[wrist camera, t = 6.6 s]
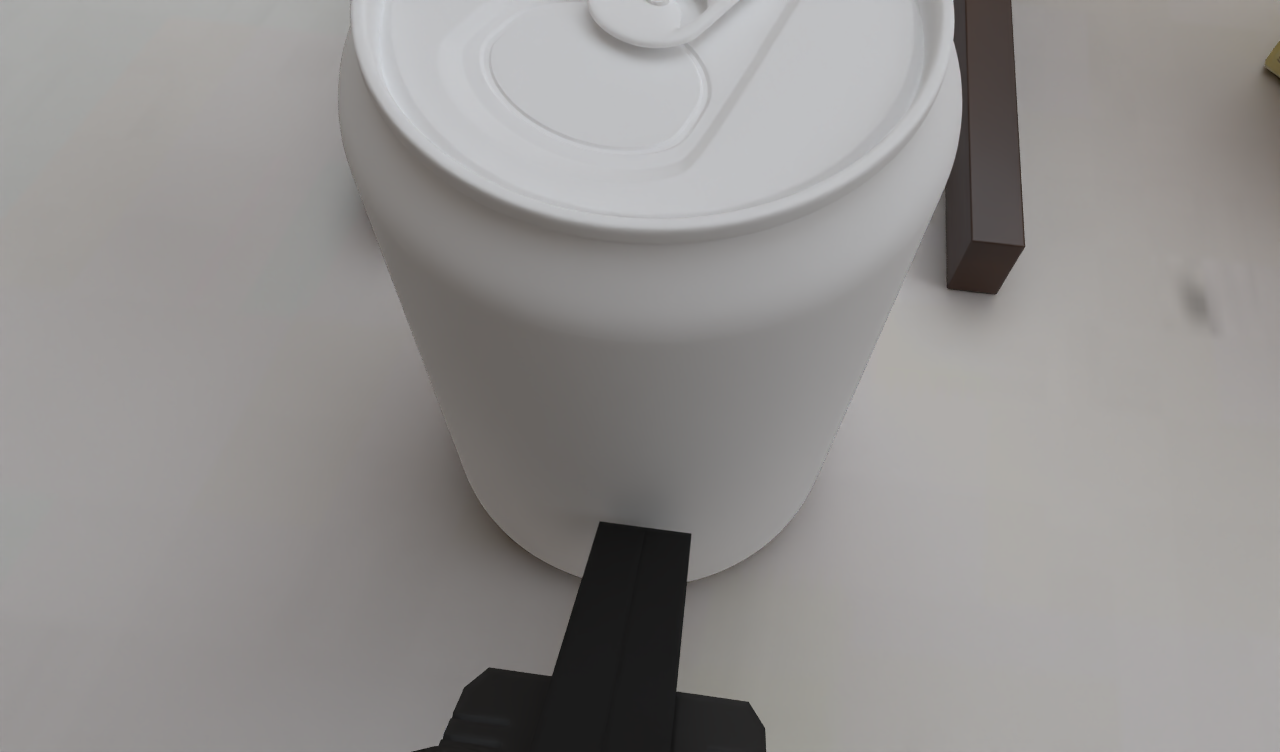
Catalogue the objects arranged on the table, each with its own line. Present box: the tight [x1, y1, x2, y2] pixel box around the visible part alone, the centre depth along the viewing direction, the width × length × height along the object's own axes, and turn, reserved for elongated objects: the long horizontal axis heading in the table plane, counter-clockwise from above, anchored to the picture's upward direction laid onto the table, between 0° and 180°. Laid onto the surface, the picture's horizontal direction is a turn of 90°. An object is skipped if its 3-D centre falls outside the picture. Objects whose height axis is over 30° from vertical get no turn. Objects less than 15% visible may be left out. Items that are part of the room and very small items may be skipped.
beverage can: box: [338, 0, 962, 582], centre depth 17 cm, size 8×8×12 cm
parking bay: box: [946, 0, 1025, 294], centre depth 27 cm, size 15×13×2 cm
